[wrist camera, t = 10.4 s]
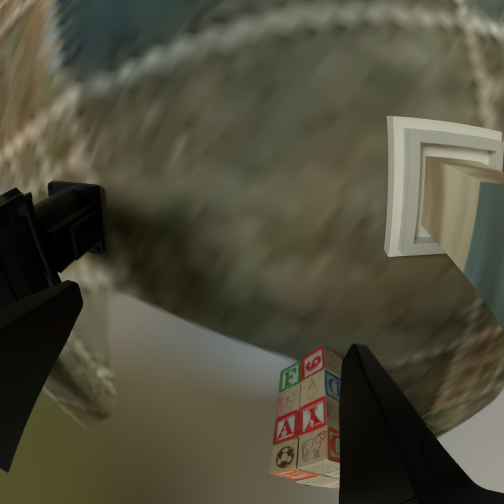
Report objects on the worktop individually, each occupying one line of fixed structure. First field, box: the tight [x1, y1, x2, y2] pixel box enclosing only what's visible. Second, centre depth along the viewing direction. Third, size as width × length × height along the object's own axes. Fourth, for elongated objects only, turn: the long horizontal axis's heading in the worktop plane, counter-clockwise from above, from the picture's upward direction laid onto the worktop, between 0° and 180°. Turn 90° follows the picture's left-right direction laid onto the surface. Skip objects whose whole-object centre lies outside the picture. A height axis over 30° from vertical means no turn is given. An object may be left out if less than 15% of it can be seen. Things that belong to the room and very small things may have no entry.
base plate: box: [384, 116, 504, 257], centre depth 16 cm, size 10×10×2 cm
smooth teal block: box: [420, 156, 504, 330], centre depth 10 cm, size 5×5×13 cm
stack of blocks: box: [270, 346, 343, 489], centre depth 24 cm, size 21×6×12 cm, turn 50°
